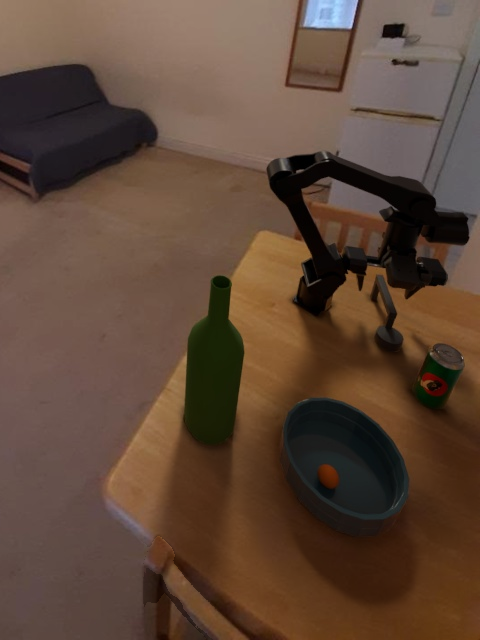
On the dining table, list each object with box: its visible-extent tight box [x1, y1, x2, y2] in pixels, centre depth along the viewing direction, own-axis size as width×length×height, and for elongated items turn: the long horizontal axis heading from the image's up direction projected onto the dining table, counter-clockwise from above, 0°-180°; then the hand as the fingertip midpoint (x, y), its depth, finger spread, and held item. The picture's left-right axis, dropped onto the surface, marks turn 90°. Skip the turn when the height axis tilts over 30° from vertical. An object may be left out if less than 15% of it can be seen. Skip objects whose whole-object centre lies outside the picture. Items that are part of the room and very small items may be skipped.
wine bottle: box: [183, 274, 245, 446], centre depth 66 cm, size 9×9×32 cm
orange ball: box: [317, 464, 339, 489], centre depth 62 cm, size 3×3×3 cm
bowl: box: [278, 396, 410, 538], centre depth 64 cm, size 17×17×6 cm
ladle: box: [369, 273, 405, 353], centre depth 89 cm, size 16×5×7 cm, turn 162°
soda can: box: [412, 342, 466, 410], centre depth 72 cm, size 5×5×12 cm
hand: (382, 293), depth 91 cm, fingers open, 9 cm apart
